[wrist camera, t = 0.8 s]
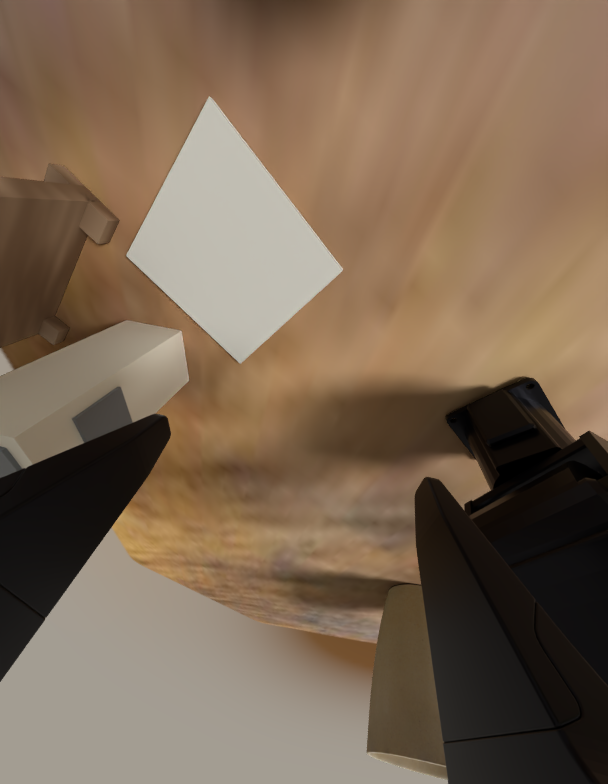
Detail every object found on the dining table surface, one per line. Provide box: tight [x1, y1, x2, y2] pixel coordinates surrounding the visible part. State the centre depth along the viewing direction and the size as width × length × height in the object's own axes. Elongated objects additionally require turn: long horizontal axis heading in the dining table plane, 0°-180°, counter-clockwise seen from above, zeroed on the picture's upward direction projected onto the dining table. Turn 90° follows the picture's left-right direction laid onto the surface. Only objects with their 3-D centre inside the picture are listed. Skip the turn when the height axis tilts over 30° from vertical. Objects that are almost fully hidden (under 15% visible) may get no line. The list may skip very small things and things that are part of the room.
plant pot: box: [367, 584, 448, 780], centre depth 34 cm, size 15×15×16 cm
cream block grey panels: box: [0, 320, 189, 478], centre depth 18 cm, size 5×5×13 cm
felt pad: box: [126, 96, 343, 364], centre depth 18 cm, size 11×11×1 cm
